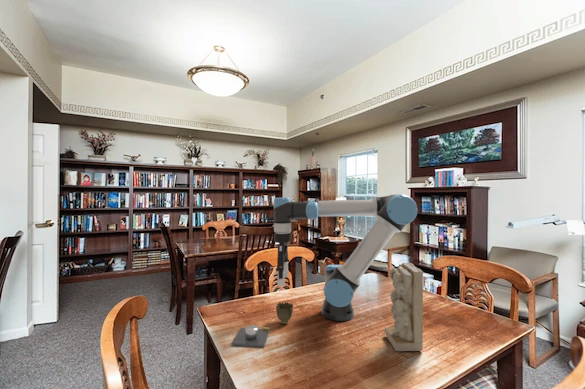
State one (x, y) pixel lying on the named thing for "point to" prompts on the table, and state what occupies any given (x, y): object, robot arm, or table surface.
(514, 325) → the table surface
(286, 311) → the scalloped lamp shade
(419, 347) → the sculpture
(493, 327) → the table surface
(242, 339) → the grey plate with knob
